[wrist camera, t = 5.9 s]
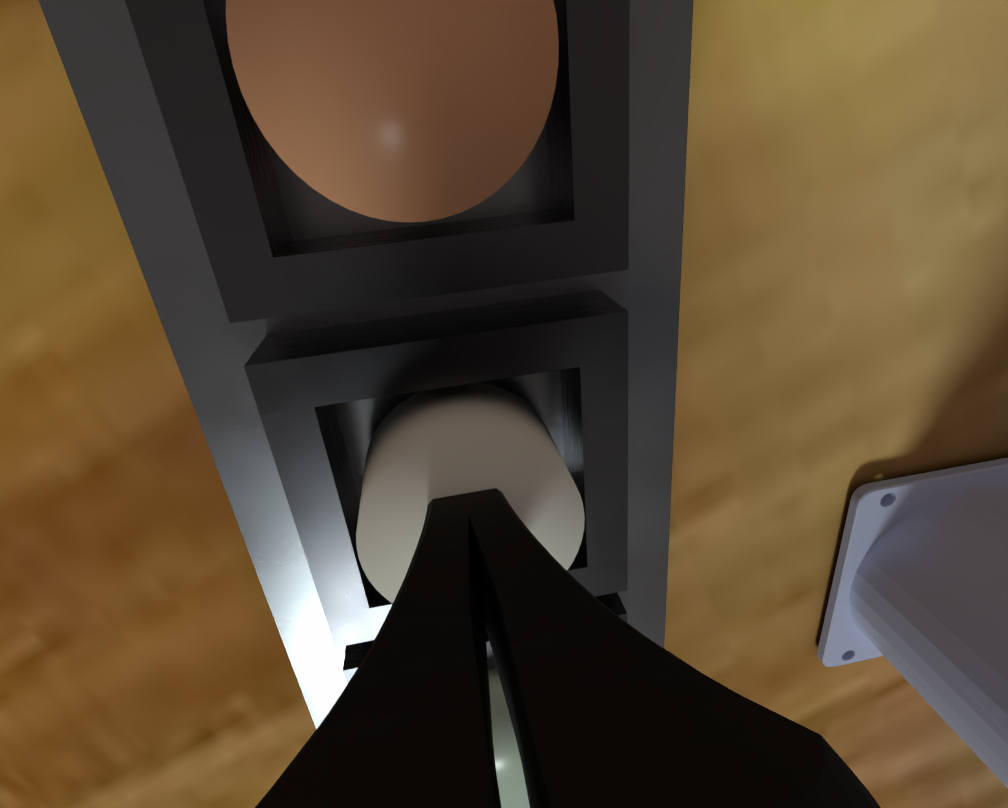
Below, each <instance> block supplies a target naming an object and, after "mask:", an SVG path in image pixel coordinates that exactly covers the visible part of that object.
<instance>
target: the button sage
mask: <svg viewBox="0 0 1008 808" xmlns="http://www.w3.org/2000/svg"><path fill="white" fill-rule="evenodd" d="M488 674H489V689H490V704H491V719H492V734H493V746H494V756H495V766H496V774H497V781H498V787H499V794H500V801H501V807H502V808H530V805H529V800H528V794H527V789H526V784H525V778H524V773H523V767H522V762H521V758H520V754H519V750H518V745H517V741H516V737H515V733H514V729H513V726H512V722H511V718H510V715H509V711H508V707H507V704H506V700H505V696H504V693H503V689H502V685H501V682H500V678H499V674H498V671H497V668H495V669H490V670H488Z"/></svg>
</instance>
